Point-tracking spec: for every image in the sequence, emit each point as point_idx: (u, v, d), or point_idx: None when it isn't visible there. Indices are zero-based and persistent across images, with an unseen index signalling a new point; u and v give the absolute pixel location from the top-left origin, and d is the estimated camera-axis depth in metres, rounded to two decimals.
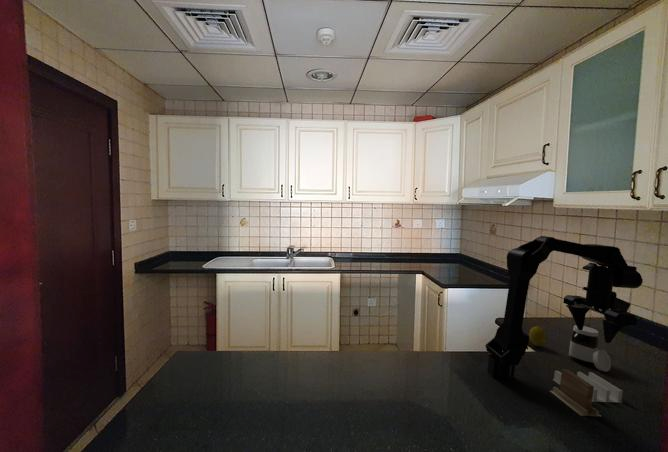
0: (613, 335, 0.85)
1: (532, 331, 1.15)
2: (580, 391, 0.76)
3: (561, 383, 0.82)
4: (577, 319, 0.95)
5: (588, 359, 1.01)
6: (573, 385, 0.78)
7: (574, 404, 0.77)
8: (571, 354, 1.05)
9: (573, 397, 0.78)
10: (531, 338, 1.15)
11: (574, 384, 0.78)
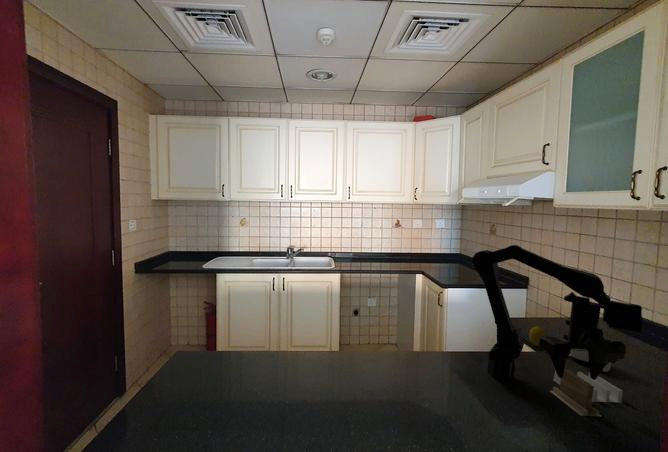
0: (558, 368, 0.78)
1: (532, 331, 1.15)
2: (580, 391, 0.76)
3: (561, 383, 0.82)
4: (590, 364, 0.80)
5: (588, 359, 1.01)
6: (573, 385, 0.78)
7: (574, 404, 0.77)
8: (571, 354, 1.05)
9: (573, 397, 0.78)
10: (531, 338, 1.15)
11: (574, 384, 0.78)
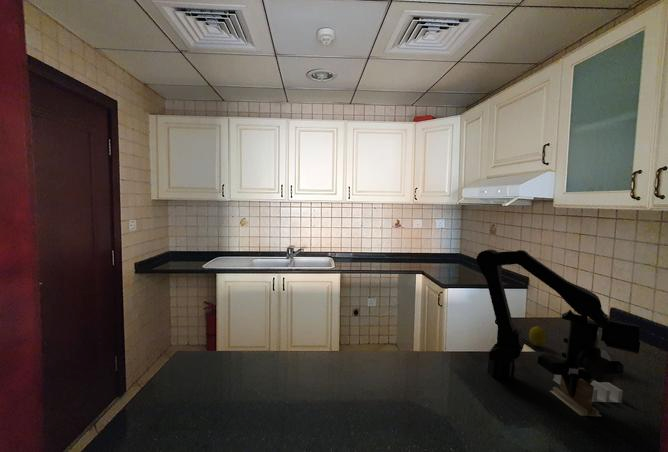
0: (570, 387, 0.78)
1: (532, 331, 1.15)
2: (580, 391, 0.76)
3: (561, 383, 0.82)
4: None
5: None
6: None
7: (574, 404, 0.77)
8: None
9: (573, 397, 0.78)
10: (531, 338, 1.15)
11: None
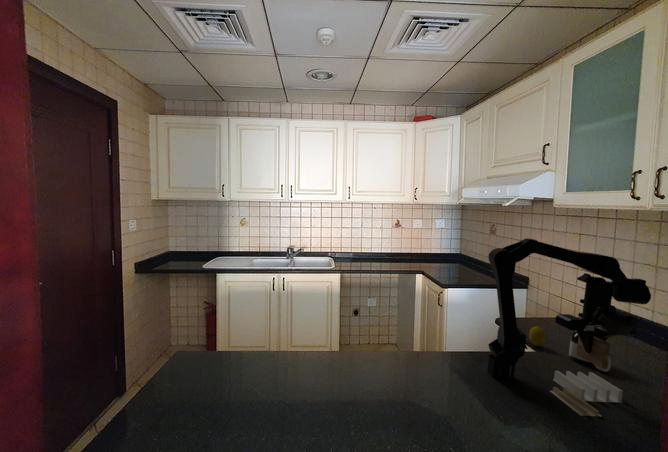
0: (587, 344, 0.83)
1: (532, 331, 1.15)
2: (597, 349, 0.81)
3: (578, 344, 0.87)
4: None
5: None
6: None
7: (574, 404, 0.77)
8: (571, 354, 1.05)
9: (590, 355, 0.83)
10: (531, 338, 1.15)
11: None
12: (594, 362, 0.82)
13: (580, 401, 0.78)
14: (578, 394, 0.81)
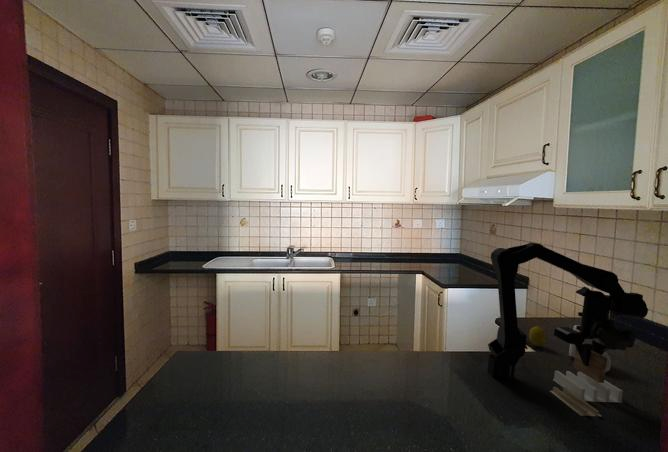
0: (584, 357, 0.84)
1: (532, 331, 1.15)
2: (594, 363, 0.82)
3: (575, 357, 0.88)
4: None
5: None
6: None
7: (574, 404, 0.77)
8: (571, 354, 1.05)
9: (587, 369, 0.84)
10: (531, 338, 1.15)
11: None
12: (591, 376, 0.83)
13: (580, 401, 0.78)
14: (578, 394, 0.81)
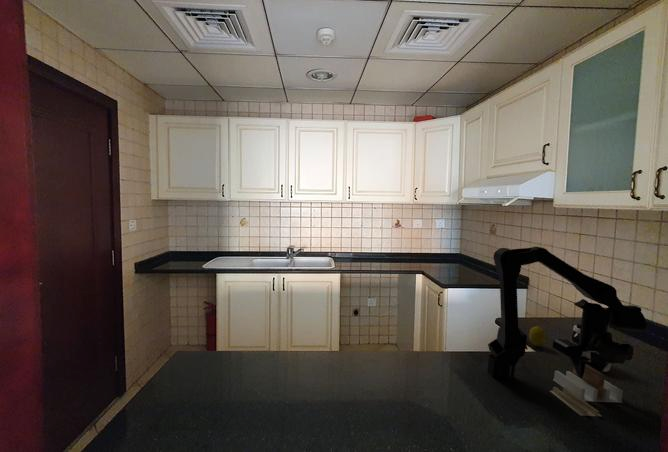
0: (579, 369, 0.84)
1: (532, 331, 1.15)
2: (592, 380, 0.82)
3: (573, 373, 0.89)
4: (592, 364, 0.86)
5: None
6: (585, 374, 0.85)
7: (574, 404, 0.77)
8: None
9: None
10: (531, 338, 1.15)
11: (586, 373, 0.85)
12: None
13: (580, 401, 0.78)
14: (578, 394, 0.81)
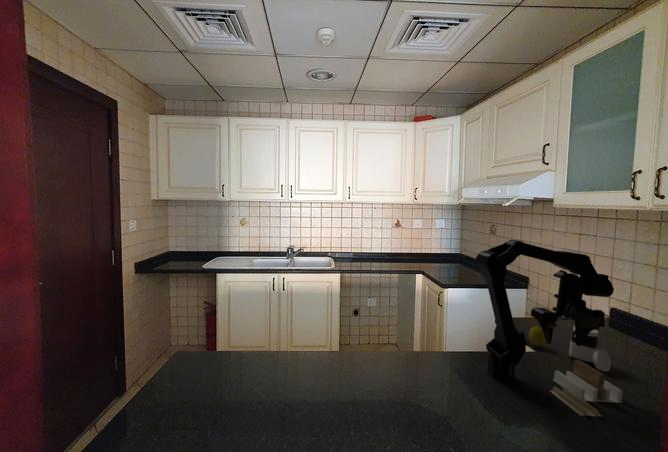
0: (547, 335, 0.89)
1: (532, 331, 1.15)
2: (592, 380, 0.82)
3: (573, 373, 0.89)
4: (576, 333, 0.91)
5: (588, 359, 1.01)
6: (585, 374, 0.85)
7: (574, 404, 0.77)
8: (571, 354, 1.05)
9: None
10: (531, 338, 1.15)
11: (586, 373, 0.85)
12: None
13: (580, 401, 0.78)
14: (578, 394, 0.81)
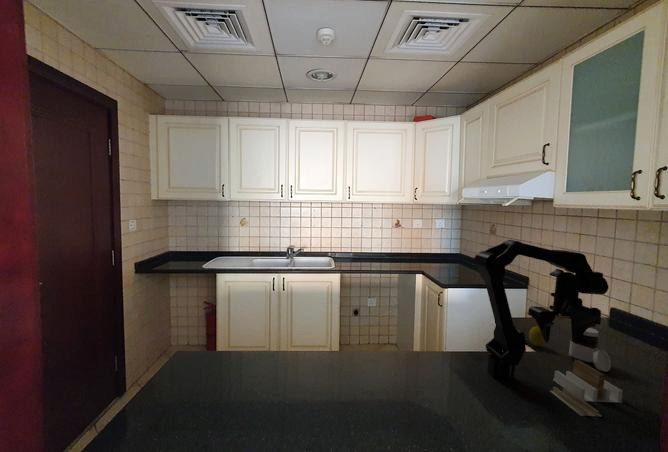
0: (545, 333, 0.90)
1: (532, 331, 1.15)
2: (592, 380, 0.82)
3: (573, 373, 0.89)
4: (572, 330, 0.92)
5: (588, 359, 1.01)
6: (585, 374, 0.85)
7: (574, 404, 0.77)
8: (571, 354, 1.05)
9: None
10: (531, 338, 1.15)
11: (586, 373, 0.85)
12: None
13: (580, 401, 0.78)
14: (578, 394, 0.81)
